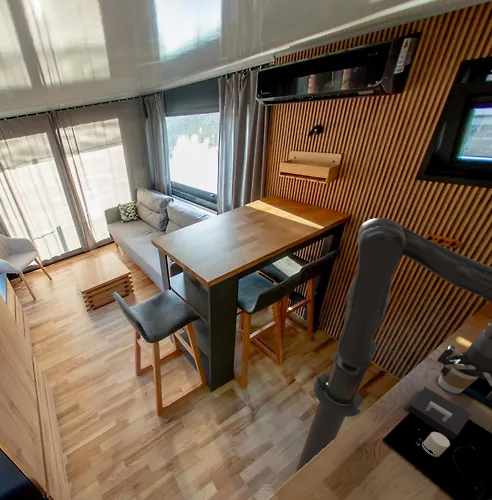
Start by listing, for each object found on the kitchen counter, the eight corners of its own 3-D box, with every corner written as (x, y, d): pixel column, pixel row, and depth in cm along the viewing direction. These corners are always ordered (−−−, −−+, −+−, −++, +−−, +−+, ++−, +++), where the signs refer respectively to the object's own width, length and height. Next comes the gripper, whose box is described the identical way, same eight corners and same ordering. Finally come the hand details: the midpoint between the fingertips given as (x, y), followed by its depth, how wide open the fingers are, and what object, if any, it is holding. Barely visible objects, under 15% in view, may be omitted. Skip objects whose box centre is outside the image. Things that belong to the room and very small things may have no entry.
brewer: (452, 440, 82) (457, 434, 80) (406, 409, 91) (410, 404, 90) (465, 420, 86) (470, 415, 84) (419, 393, 95) (423, 387, 93)
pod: (419, 447, 82) (428, 437, 79) (425, 439, 84) (433, 429, 80) (437, 459, 79) (446, 449, 76) (442, 451, 80) (452, 441, 77)
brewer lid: (456, 436, 80) (464, 428, 78) (409, 405, 89) (414, 397, 87) (470, 415, 84) (478, 406, 81) (423, 387, 93) (429, 379, 90)
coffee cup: (459, 401, 91) (480, 376, 83) (428, 382, 98) (445, 357, 90) (471, 389, 93) (493, 364, 86) (440, 371, 100) (457, 347, 93)
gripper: (450, 339, 69) (426, 374, 78) (540, 379, 58) (500, 415, 66) (461, 326, 72) (436, 361, 80) (548, 362, 61) (510, 398, 69)
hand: (465, 385), depth 73 cm, fingers open, 8 cm apart
